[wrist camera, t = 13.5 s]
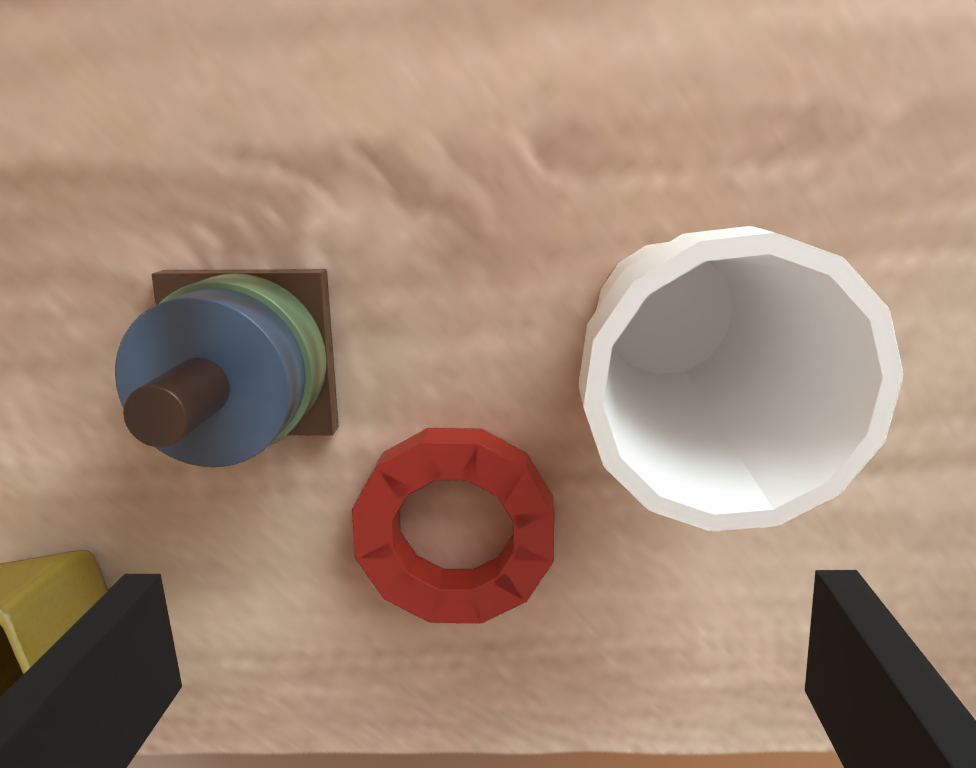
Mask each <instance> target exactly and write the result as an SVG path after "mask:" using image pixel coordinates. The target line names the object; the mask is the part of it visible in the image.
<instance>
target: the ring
mask: <svg viewBox="0 0 976 768" xmlns="http://www.w3.org/2000/svg"><path fill="white" fill-rule="evenodd" d="M435 480H467V481H469V482H471V483H473V484H475V485H477V486H479V487H480V488H482V489H484V490H486V491H488V492H490V493H492V494H494V495H495V496H497V497H498V499H499V500H500V502H501V503H502V505H503V506H504V508H505V510H506V511H507V513H508V514H509V516H510V517H511V519H512V521H513V536H512V537H511V539H510V540H509V542H508V543H507V545H506V547H505V548H504V550H503V551H502V553H501V554H500V556H499V557H497V558H495V559H493V560H491V561H489V562H487V563H485V564H483V565H481V566H479V567H477V568H475V569H473V570H461V569H442V568H440V567H438V566H436V565H434V564H432V563H430V562H428V561H427V560H425V559H423V558H421V557H419V556H417V555H416V554H415V552H414V551H413V549H412V548H411V547H410V545H409V544H408V542H407V541H406V539H405V538H404V536H403V535H402V533H401V532H400V516H399V508H400V507H401V505H402V503H403V501H404V500H405V498H406V496H407V495H408V494H410V493H412V492H414V491H416V490H418V489H420V488H421V487H423V486H425V485H427V484H429V483H431V482H433V481H435ZM352 519H353V533H354V547H355V558H356V560H357V561H358V563H359V564H360V566H361V567H362V569H363V570H364V571H365V573H366V574H367V576H368V577H369V578H370V580H371V581H372V583H373V584H374V586H375V587H376V588H377V590H378V591H379V593H380V594H381V595H382V597H383V598H384V599H385V600H387V601H389V602H391V603H393V604H395V605H397V606H399V607H400V608H402V609H404V610H406V611H408V612H410V613H412V614H414V615H416V616H418V617H420V618H422V619H424V620H426V621H428V622H433V623H479V624H480V623H484V622H486V621H488V620H490V619H492V618H494V617H496V616H498V615H500V614H502V613H504V612H506V611H508V610H511V609H513V608H515V607H517V606H519V605H521V604H523V603H525V602H527V600H528V599H529V597H530V596H531V594H532V593H533V591H534V590H535V589H536V587H537V586H538V584H539V583H540V581H541V580H542V578H543V577H544V575H545V574H546V572H547V571H548V569H549V568H550V566H551V565H552V563H553V561H554V503H553V496H552V494H551V492H550V491H549V489H548V487H547V486H546V484H545V482H544V481H543V479H542V478H541V476H540V474H539V473H538V471H537V469H536V468H535V466H534V465H533V463H532V461H531V460H530V458H529V456H528V455H527V454H526V453H525V452H523V451H521V450H519V449H517V448H516V447H514V446H512V445H510V444H508V443H506V442H505V441H503V440H501V439H499V438H497V437H495V436H494V435H492V434H490V433H488V432H486V431H484V430H483V429H454V428H429V429H428V428H427V429H425V430H423V431H422V432H420V433H418V434H416V435H414V436H412V437H411V438H409V439H407V440H405V441H403V442H402V443H400V444H398V445H396V446H394V447H392V448H391V449H389V450H387V451H385V452H384V453H383V454H382V456H381V458H380V459H379V461H378V463H377V465H376V467H375V468H374V470H373V472H372V474H371V476H370V477H369V479H368V481H367V483H366V484H365V486H364V488H363V490H362V492H361V493H360V495H359V497H358V499H357V501H356V503H355V505H354V507H353V509H352Z"/></svg>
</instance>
